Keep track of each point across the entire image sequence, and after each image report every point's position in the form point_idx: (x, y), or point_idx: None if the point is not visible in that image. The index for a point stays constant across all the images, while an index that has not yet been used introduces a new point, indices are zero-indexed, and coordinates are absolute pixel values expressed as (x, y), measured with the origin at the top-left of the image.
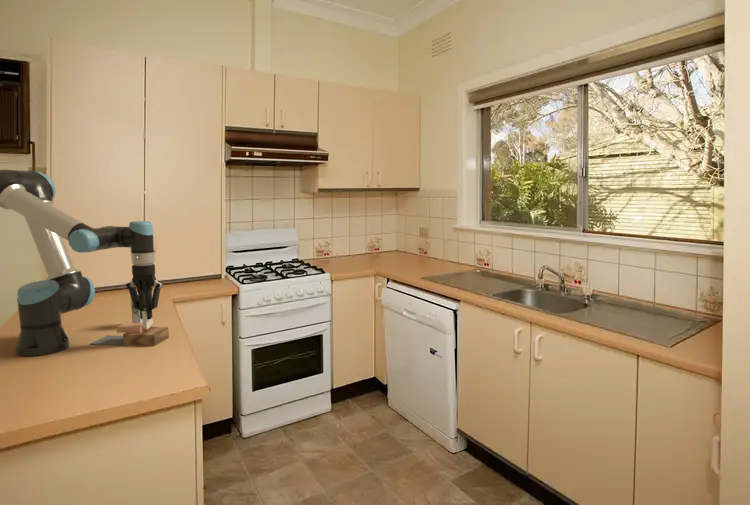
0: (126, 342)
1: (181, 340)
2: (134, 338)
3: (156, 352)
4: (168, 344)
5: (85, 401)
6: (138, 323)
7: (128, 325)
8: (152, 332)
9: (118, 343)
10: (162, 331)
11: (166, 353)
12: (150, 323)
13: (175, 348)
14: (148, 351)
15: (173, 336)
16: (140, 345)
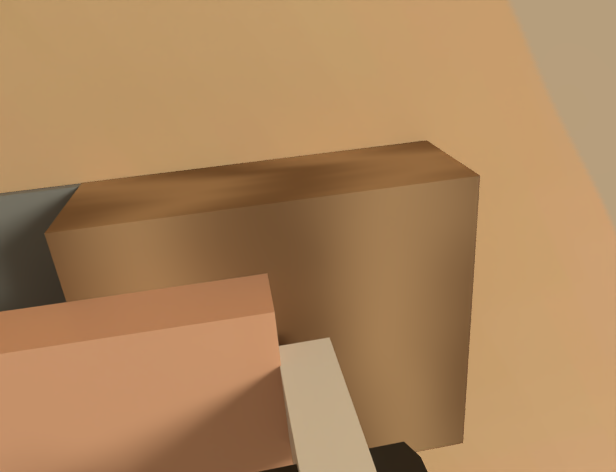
0: None
1: (586, 200)
2: None
3: (505, 462)
4: (516, 315)
5: None
6: (120, 361)
7: (60, 460)
8: (403, 390)
9: None
10: (466, 299)
11: (578, 458)
12: (338, 367)
13: (603, 374)
14: (441, 463)
15: (457, 94)
16: None
